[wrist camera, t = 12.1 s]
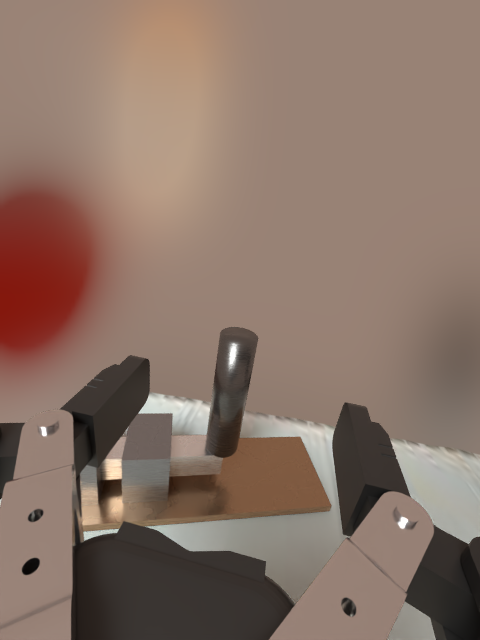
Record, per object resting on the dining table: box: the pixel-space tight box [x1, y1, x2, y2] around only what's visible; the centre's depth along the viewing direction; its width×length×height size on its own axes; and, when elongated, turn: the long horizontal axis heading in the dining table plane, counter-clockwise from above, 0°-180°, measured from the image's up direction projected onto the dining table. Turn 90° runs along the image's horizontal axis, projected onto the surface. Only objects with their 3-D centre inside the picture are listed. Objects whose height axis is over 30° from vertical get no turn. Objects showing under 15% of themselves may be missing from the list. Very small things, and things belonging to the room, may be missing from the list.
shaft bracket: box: [80, 414, 331, 531], centre depth 30 cm, size 28×9×6 cm, turn 100°
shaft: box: [100, 327, 258, 480], centre depth 27 cm, size 17×3×15 cm, turn 100°
